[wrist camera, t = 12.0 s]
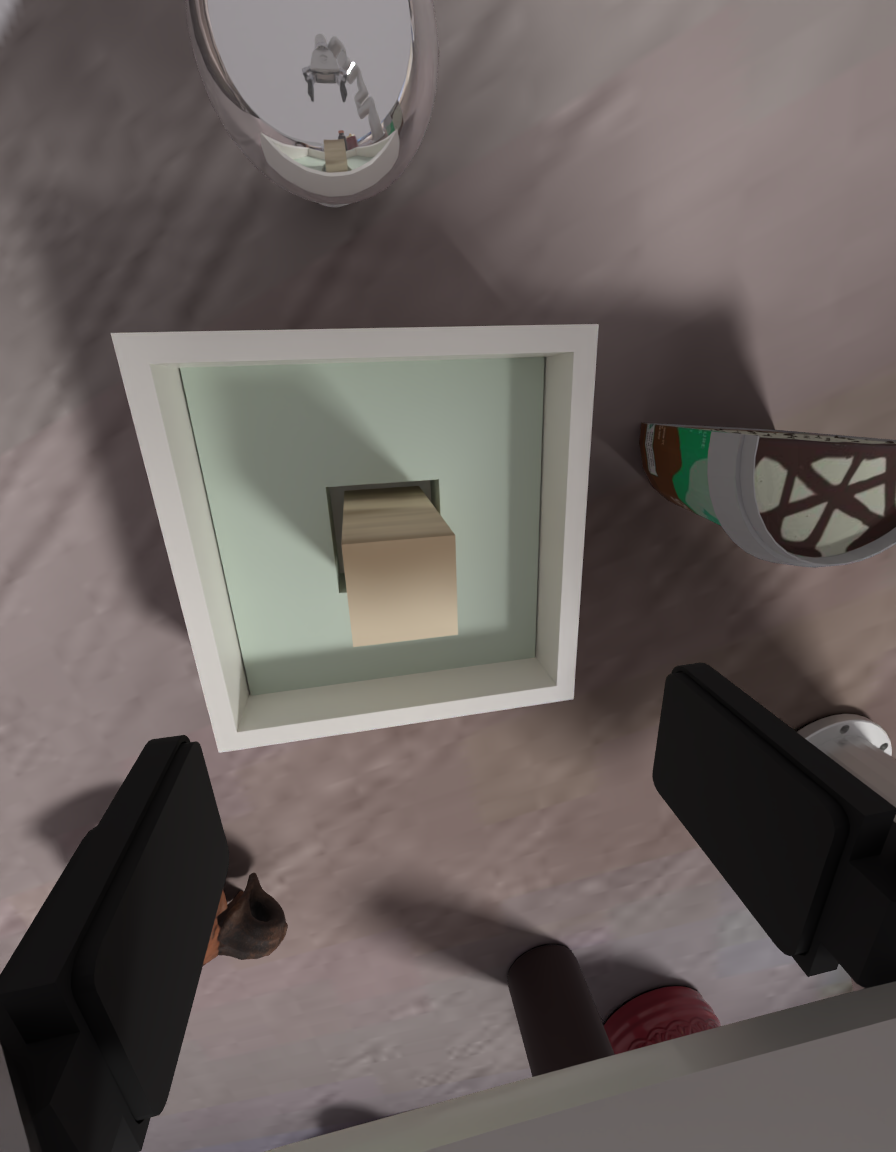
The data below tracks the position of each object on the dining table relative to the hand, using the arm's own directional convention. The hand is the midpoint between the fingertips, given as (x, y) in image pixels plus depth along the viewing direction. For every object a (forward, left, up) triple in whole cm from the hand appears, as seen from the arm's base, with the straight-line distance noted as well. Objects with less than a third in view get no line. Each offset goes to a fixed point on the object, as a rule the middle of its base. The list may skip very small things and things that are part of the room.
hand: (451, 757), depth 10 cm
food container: (+1, -20, -20) cm, 28 cm away
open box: (0, 0, -20) cm, 20 cm away
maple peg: (0, 0, -19) cm, 19 cm away
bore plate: (0, 0, -20) cm, 20 cm away
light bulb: (+16, +1, -20) cm, 26 cm away
